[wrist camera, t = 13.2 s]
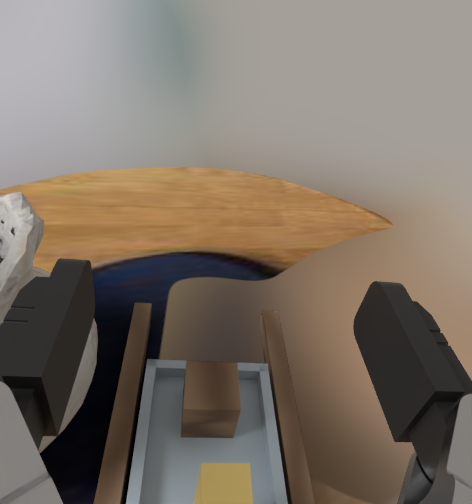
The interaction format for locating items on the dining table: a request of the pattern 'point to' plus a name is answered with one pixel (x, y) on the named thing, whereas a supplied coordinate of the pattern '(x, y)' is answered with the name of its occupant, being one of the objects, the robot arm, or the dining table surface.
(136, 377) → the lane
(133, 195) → the dining table surface
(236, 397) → the block
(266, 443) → the shallow grey tray
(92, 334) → the ceramic pitcher
